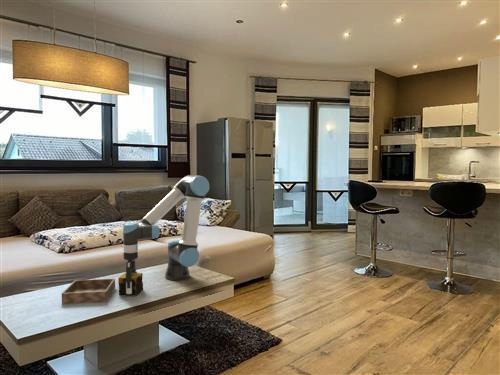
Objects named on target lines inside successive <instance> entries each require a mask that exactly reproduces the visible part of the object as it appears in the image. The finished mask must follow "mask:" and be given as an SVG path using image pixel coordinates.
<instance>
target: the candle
mask: <svg viewBox="0 0 500 375" xmlns="http://www.w3.org/2000/svg"><path fill="white" fill-rule="evenodd" d="M143 274H144V273H143V272H137V273H132V277H131V281H132V294H126V282H125V280H126V272H124V273H123V274H121V275H120V276H119V277H117V278H118V280H117V284H118V295H119V296H127V297H128V296H130V297H137V296H138V295H139V294H140V293H141V292H142V291H144V282H143V277H144V276H143ZM128 280H129V279H128Z"/></svg>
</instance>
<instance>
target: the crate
mask: <svg viewBox="0 0 500 375" xmlns="http://www.w3.org/2000/svg"><path fill="white" fill-rule="evenodd" d="M115 289H116V278H100V279H99V278H97V279H96V278H94V279H93V278H91V279H75V280H74V281H72V283H70V285H69V286H67V287H66V288H65V290H64V291H62V293H61V304H62V305H72V304H91V303H92V304H93V303H94V304H95V303H107V302H108V301H109V299H110V297H111V296H112V294H113V293H114V291H115Z"/></svg>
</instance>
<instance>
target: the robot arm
mask: <svg viewBox="0 0 500 375" xmlns="http://www.w3.org/2000/svg"><path fill="white" fill-rule="evenodd" d="M209 191H210V183H209V180H208V179H207V178H206V177H205V176H202V175H199V174H198V175H197V174H196V175H195V174H188V175H185V176H184V177H183V178H181V179H180V180H179V181H178V182H177V183H176V184H175V185H173V187H172V190H171V191H170V192H169V193H168V194H167V195H165V197H163V199H162V200H160V201H159V202H158V204H156V205H155V207H153V208H152V209H151V210H150V211H149V212H148V213H147V214H146V215H145V216H144V217H143V218H142V219H140V220H139V221H136V222H127V223H124V224H123V227H122V229H123V230H122V237H123V238H122V240H123V245H122V246H121V247H122V248H123V253H122V254H123V255H122V256H123V260H125V261H127V262H126V265H125V266H126V269H125V270H126V271H125V273H126V280H125V282H126V294H132V281H131V277H132V273H138V272H137V268H136V267H137V266H136V260H137V259H138V258H139V246H138V245H139V242H138V241H141V240H142V241H143V240H151V239H152V240H153V239H157V238H159V237H160V227H159V226H158V224H157V223H158V222H159V221H160V220H161V219H162V218H163V217H164V216H166V214H167V213H168V212H169V211H170V210H171V209H173V207H174V206H175V205H176V204H178V203H179V201H181V200H182V199H185V198H186V207H185V212H184V213H185V214H184V220H183V225H182V234H181V239H177V240H170V241H168V243H167V268H166V270H165V273H164V275H165V276H164V277H165V279H167V280H170V281H181V280H186V279H188V277H189V278H190V270H189V268H190V267H192V266H193V267H194V266H195V265H196V264H197V263H198V262H199V260H200V251H199V250H198V246H199V243H198V242H197V234H198V228H199V221H200V216H201V215H200V214H201V207H202V202H203V201H204V200H205V198H206V194H208V193H209ZM128 279H129V280H128Z"/></svg>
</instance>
